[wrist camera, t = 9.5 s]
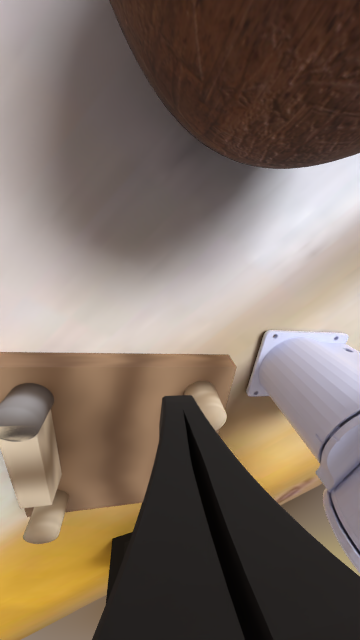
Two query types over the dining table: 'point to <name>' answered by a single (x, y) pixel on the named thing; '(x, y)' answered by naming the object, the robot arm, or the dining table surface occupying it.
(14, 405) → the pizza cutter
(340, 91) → the wooden sphere
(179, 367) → the stool seat
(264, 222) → the dining table surface
